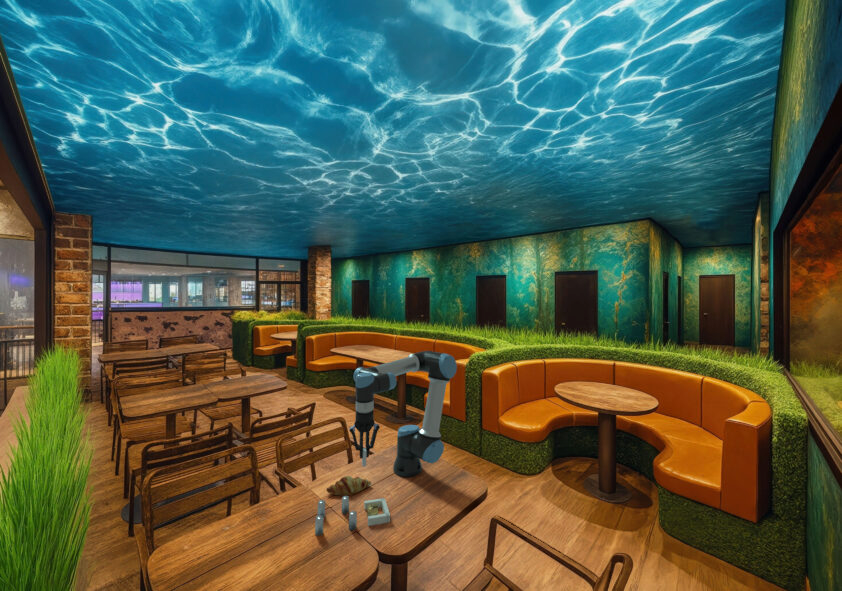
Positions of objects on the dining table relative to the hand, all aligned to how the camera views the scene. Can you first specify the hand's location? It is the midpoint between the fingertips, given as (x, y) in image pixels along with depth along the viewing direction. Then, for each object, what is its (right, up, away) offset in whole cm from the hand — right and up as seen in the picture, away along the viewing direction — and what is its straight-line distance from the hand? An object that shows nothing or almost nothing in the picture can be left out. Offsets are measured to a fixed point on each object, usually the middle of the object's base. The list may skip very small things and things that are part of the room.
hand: (364, 464), depth 147 cm
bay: (+5, -22, +1) cm, 23 cm away
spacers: (-12, -22, -4) cm, 25 cm away
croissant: (-10, -22, +18) cm, 30 cm away
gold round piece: (+3, -22, 0) cm, 22 cm away
